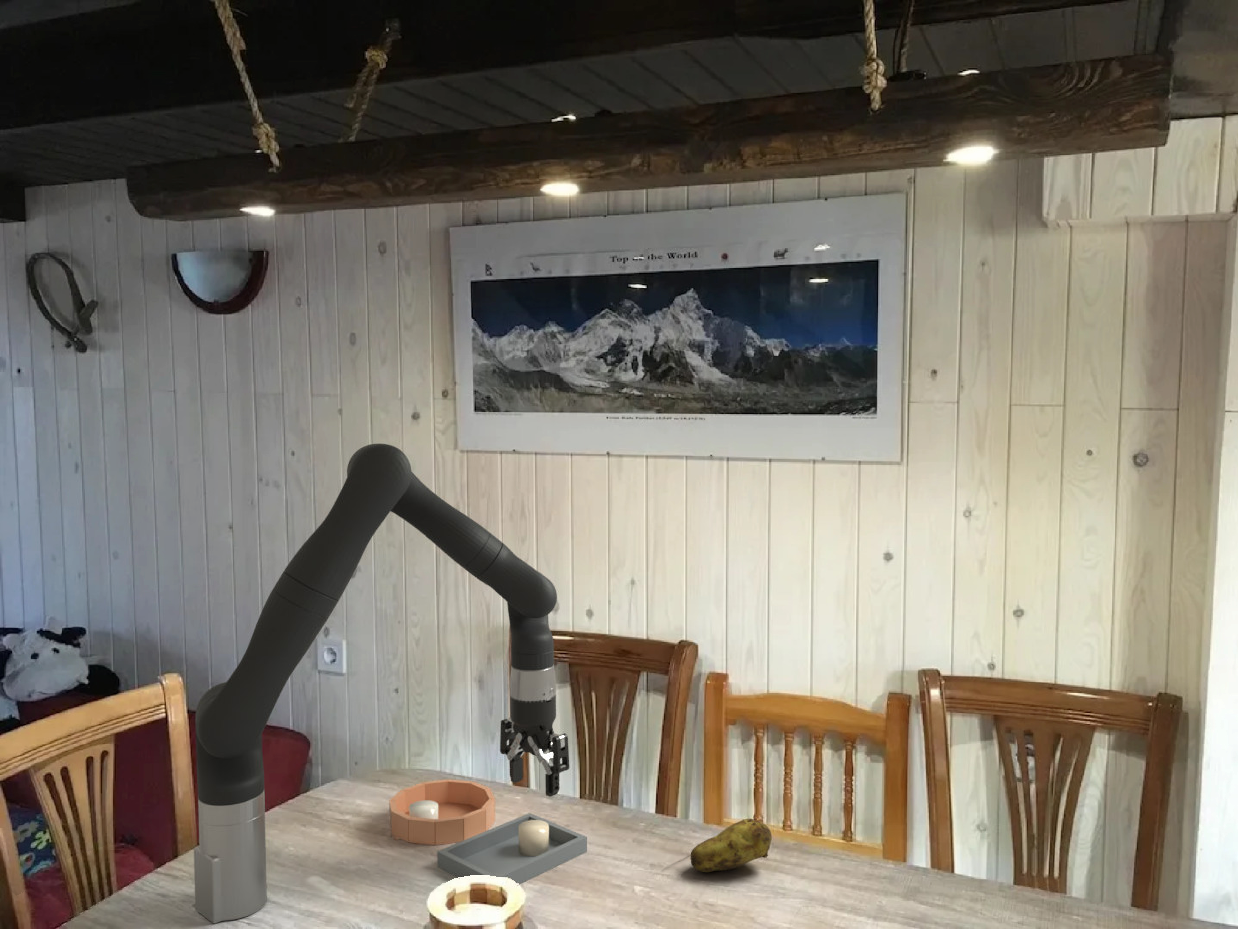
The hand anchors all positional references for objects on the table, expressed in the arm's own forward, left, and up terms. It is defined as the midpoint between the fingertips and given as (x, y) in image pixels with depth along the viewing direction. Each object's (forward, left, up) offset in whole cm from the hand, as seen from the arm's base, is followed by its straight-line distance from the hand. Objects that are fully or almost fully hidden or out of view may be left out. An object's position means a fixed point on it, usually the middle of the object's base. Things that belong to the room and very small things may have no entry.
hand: (534, 788), depth 165 cm
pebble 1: (-8, +20, -11) cm, 24 cm away
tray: (-5, 0, -12) cm, 12 cm away
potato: (+18, -27, -12) cm, 35 cm away
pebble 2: (0, 0, -11) cm, 11 cm away
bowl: (-4, +20, -12) cm, 23 cm away
